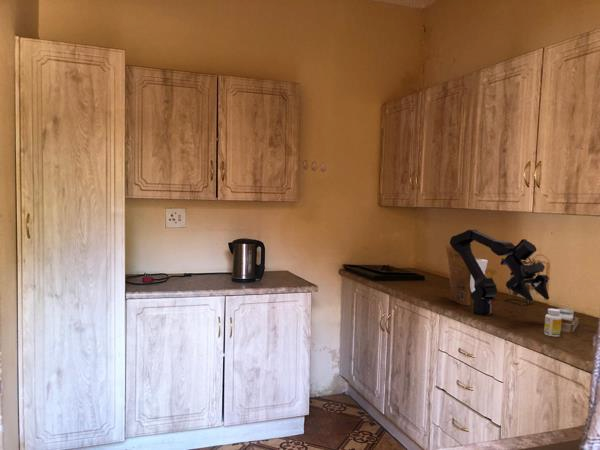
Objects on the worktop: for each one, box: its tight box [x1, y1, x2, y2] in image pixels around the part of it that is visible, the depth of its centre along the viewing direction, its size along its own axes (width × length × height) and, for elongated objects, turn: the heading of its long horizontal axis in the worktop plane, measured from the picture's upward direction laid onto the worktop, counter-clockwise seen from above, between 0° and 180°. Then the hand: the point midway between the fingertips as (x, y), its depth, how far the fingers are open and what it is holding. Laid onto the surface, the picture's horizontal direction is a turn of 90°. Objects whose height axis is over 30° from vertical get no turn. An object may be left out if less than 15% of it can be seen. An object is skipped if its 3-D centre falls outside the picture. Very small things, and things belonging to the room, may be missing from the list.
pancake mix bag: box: [445, 244, 473, 306], centre depth 222 cm, size 7×19×28 cm, turn 13°
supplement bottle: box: [543, 308, 562, 338], centre depth 170 cm, size 5×5×10 cm
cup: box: [470, 258, 489, 293], centre depth 251 cm, size 11×11×18 cm
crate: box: [561, 316, 579, 334], centre depth 181 cm, size 9×16×4 cm, turn 142°
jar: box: [557, 307, 575, 321], centre depth 184 cm, size 6×6×6 cm
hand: (540, 299), depth 175 cm, fingers open, 9 cm apart
